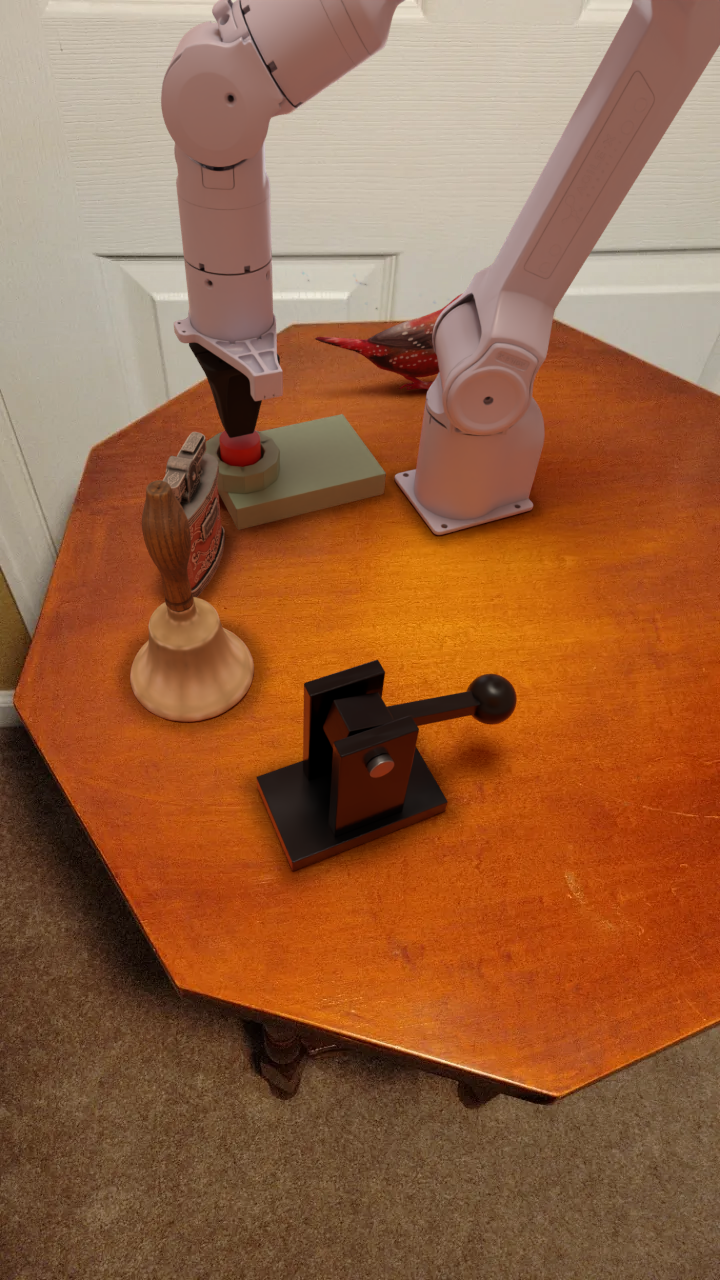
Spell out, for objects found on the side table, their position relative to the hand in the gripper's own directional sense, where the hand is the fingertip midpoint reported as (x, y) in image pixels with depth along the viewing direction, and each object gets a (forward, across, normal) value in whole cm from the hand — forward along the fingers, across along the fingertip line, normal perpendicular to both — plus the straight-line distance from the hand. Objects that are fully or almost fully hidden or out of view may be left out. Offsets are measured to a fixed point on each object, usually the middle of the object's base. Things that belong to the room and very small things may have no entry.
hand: (239, 430), depth 63 cm
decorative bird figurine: (+6, -9, +20) cm, 22 cm away
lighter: (+6, +7, -6) cm, 11 cm away
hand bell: (+6, +17, -10) cm, 20 cm away
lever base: (+6, +30, -4) cm, 31 cm away
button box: (+6, 0, +4) cm, 8 cm away
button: (+2, 0, 0) cm, 2 cm away
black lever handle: (0, +30, +1) cm, 30 cm away
